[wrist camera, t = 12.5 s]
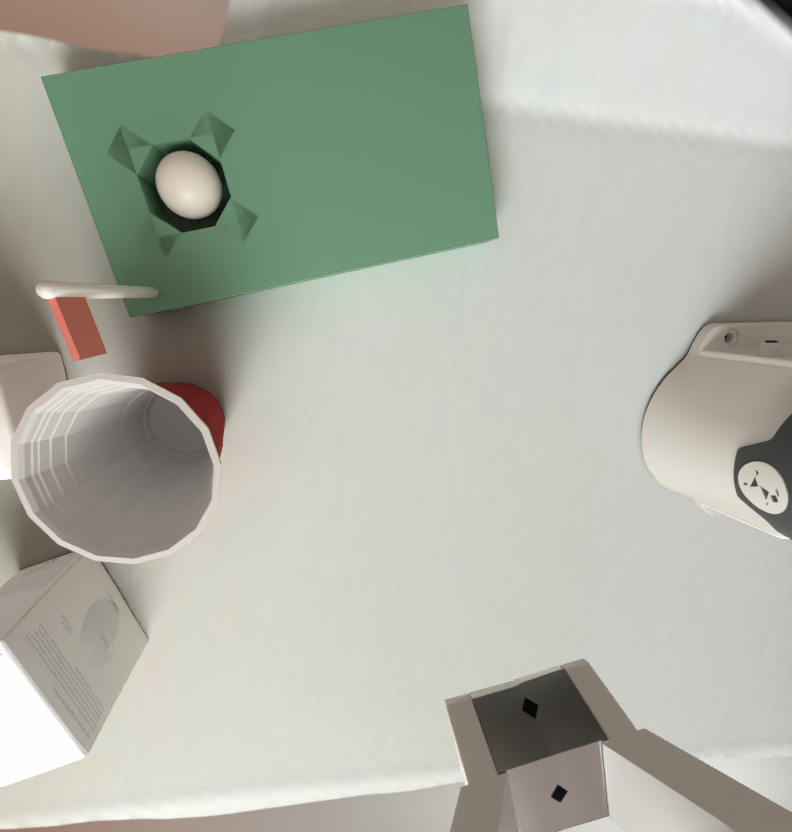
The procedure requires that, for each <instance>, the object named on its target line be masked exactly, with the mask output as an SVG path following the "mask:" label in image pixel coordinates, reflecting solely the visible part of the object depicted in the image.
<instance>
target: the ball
mask: <svg viewBox="0 0 792 832" xmlns="http://www.w3.org/2000/svg"><path fill="white" fill-rule="evenodd" d="M155 181H156V187H157V191H158V193H159V195H160V197H161V199H162V200H163V202H164V203H165V204H166V206H167V207H168V208H169V209H171V210H172V211H173V212H175V213H176V214H178V215H180V216H182V217H185V218H189V219H202V218H205V217H207V216H209V215H211V214H212V213H214V212H215V211H216V209H217V208H218V207H219V205H220V202H221V199H222V183H221V180H220V177H219V175H218V173H217V171H216V170H215V168H214V167H213V166H212V164H211V163H210V162H209V161H207V160H206V159H205V158H203V157H202V156H200V155H198V154H196V153H193V152H190V151H176V152H173V153H170V154H168V155H167V156H165V157H164V158H163V159H162V160H161V162H160V163H159V165H158V167H157V170H156V176H155Z"/></svg>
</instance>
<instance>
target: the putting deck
mask: <svg viewBox="0 0 792 832" xmlns="http://www.w3.org/2000/svg"><path fill="white" fill-rule="evenodd" d="M41 79H42V82H43V84H44V87H45V90H46V92H47V95H48V98H49V100H50V103H51V106H52V109H53V111H54V114H55V117H56V119H57V122H58V125H59V127H60V130H61V133H62V135H63V138H64V141H65V144H66V146H67V149H68V152H69V154H70V157H71V160H72V162H73V165H74V168H75V170H76V173H77V176H78V179H79V181H80V184H81V187H82V189H83V192H84V195H85V197H86V200H87V203H88V205H89V208H90V211H91V214H92V216H93V219H94V222H95V224H96V227H97V230H98V232H99V235H100V238H101V240H102V243H103V246H104V249H105V251H106V254H107V257H108V259H109V262H110V265H111V267H112V270H113V273H114V275H115V278H116V281H117V284H118V285H106V284H87V283H68V282H49V281H41V282H39V283H38V284H37V285H36V292H37V294H38V295H39V296H40V297H41V298H44V299H48V301H49V304H50V306H51V308H52V311H53V313H54V315H55V318H56V320H57V323H58V325H59V327H60V330H61V332H62V335H63V337H64V339H65V342H66V344H67V347H68V349H69V351H70V354H71V356H72V359H73V361H77V360H81V359H85V358H89V357H93V356H97V355H101V354H105V353H107V352H106V350H105V347H104V345H103V342H102V340H101V337H100V334H99V332H98V329H97V327H96V324H95V322H94V319H93V317H92V314H91V312H90V309H89V307H88V304H87V302H86V299H89V298H123V300H124V302H125V305H126V308H127V310H128V313H129V316H130V317H135V316H144V315H150V314H155V313H160V312H164V311H169V310H174V309H178V308H183V307H187V306H192V305H197V304H201V303H206V302H211V301H215V300H220V299H225V298H229V297H234V296H239V295H243V294H248V293H252V292H257V291H262V290H266V289H271V288H276V287H280V286H285V285H290V284H294V283H299V282H303V281H308V280H313V279H317V278H322V277H327V276H331V275H336V274H341V273H345V272H350V271H354V270H359V269H364V268H368V267H373V266H378V265H382V264H387V263H392V262H396V261H401V260H405V259H410V258H415V257H419V256H424V255H429V254H433V253H438V252H443V251H447V250H452V249H456V248H461V247H466V246H470V245H475V244H480V243H484V242H487V241H490V240H493V239H496V238H499V236H498V228H497V221H496V213H495V206H494V198H493V191H492V184H491V176H490V169H489V161H488V154H487V147H486V139H485V132H484V124H483V117H482V110H481V102H480V95H479V87H478V80H477V73H476V65H475V58H474V50H473V43H472V36H471V28H470V21H469V13H468V6H467V4H466V5H460V6H454V7H448V8H442V9H436V10H430V11H425V12H419V13H413V14H407V15H401V16H395V17H389V18H383V19H378V20H372V21H366V22H360V23H354V24H348V25H342V26H336V27H330V28H325V29H319V30H313V31H307V32H301V33H295V34H289V35H283V36H278V37H272V38H266V39H260V40H254V41H248V42H242V43H236V44H231V45H225V46H219V47H213V48H207V49H201V50H195V51H189V52H184V53H178V54H172V55H166V56H160V57H154V58H148V59H142V60H136V61H131V62H125V63H119V64H113V65H107V66H101V67H95V68H89V69H83V70H78V71H72V72H66V73H60V74H54V75H48V76H42V77H41ZM176 151H190V152H193V153H196V154H197V153H203V154H204V155H206V156H207V157H208V158H210V159H211V160H213V161H214V162H216V163H217V164H219V165H220V166H222V168H223V171H224V175H225V178H226V182H227V185H228V188H229V192H230V195H231V198H230V199H229V201H228V203H227V205H226V207H225V209H224V210H223V212H222V214H221V216H220V218H219V220H218V221H217V223H216V226H213V227H208V228H203V229H199V230H194V231H189V232H184V231H182V230H180V229H179V228H177V227H176V226H174V225H172V224H171V223H169V222H168V221H166V219H165V216H164V213H163V210H162V207H161V204H160V201H159V198H158V195H157V192H156V189H155V186H156V181H155V176H156V170H157V167H158V165H159V163H160V162H161V160H162V159H163V158H164V157H165V156H167V155H168V154H170V153H173V152H176Z"/></svg>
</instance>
